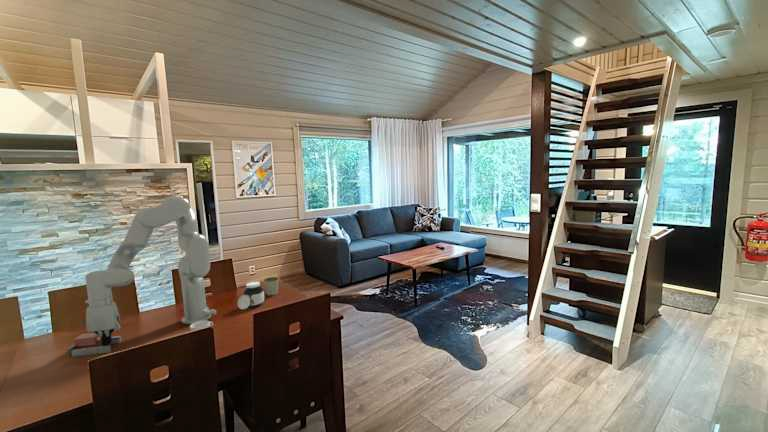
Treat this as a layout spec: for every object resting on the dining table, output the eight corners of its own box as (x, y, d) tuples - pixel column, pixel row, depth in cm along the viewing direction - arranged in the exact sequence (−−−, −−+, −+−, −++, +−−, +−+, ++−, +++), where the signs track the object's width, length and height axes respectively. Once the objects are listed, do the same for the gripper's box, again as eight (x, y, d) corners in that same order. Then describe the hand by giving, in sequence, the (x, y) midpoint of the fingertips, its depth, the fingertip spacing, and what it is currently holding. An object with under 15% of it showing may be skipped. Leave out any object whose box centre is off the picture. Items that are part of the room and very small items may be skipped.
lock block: (103, 345, 148) (101, 331, 148) (96, 351, 143) (94, 337, 143) (83, 347, 147) (81, 334, 146) (76, 353, 142) (74, 339, 141)
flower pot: (260, 296, 202) (259, 281, 201) (268, 290, 212) (267, 276, 210) (275, 296, 201) (274, 282, 200) (283, 291, 210) (282, 277, 209)
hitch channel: (121, 341, 151) (120, 333, 151) (109, 352, 142) (108, 343, 142) (83, 346, 148) (81, 338, 148) (68, 357, 139) (67, 348, 139)
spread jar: (266, 301, 194) (264, 280, 192) (259, 309, 182) (258, 287, 181) (243, 302, 193) (242, 281, 192) (236, 310, 182) (234, 288, 180)
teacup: (199, 341, 149) (197, 329, 148) (187, 338, 152) (185, 326, 152) (219, 331, 158) (218, 320, 157) (207, 329, 161) (206, 317, 161)
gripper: (73, 307, 139) (80, 351, 141) (117, 302, 142) (123, 346, 144) (85, 300, 146) (91, 343, 148) (126, 296, 149) (131, 338, 151)
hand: (107, 344), depth 146 cm, fingers closed
